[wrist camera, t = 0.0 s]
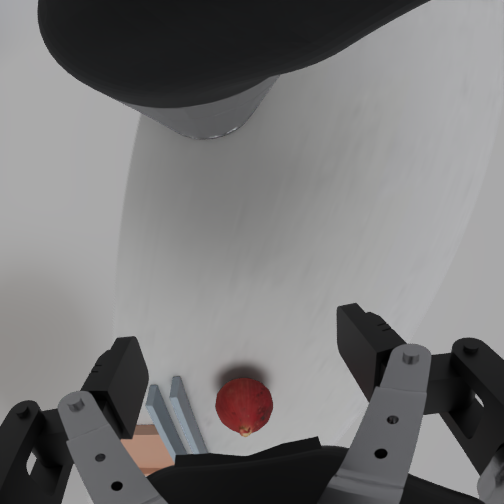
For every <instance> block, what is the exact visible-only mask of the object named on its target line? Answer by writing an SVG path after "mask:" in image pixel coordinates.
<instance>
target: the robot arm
mask: <svg viewBox="0 0 504 504" xmlns="http://www.w3.org/2000/svg"><path fill="white" fill-rule="evenodd" d="M428 1H430V0H38V23H39V28H40V33H41V35H42V38H43V40H44V43H45V45H46V47H47V49H48V50H49V52H50V53H51V55H52V56H53V58H54V59H55V60H56V61H57V63H58V64H59V65H60V66H62V67H63V68H64V69H65V70H66V71H67V72H68V73H69V74H71V75H72V76H73V77H75V78H76V79H77V80H79V81H81V82H82V83H84V84H86V85H88V86H90V87H91V88H93V89H95V90H97V91H99V92H101V93H103V94H105V95H107V96H109V97H111V98H113V99H115V100H117V101H119V102H121V103H123V104H125V105H127V106H129V107H131V108H133V109H135V110H137V111H139V112H141V113H142V114H144V115H146V116H148V117H150V118H152V119H154V120H156V121H157V122H159V123H161V124H163V125H165V126H166V127H168V128H170V129H172V130H174V131H175V132H177V133H179V134H181V135H184V136H186V137H190V138H196V139H213V138H217V137H221V136H225V135H227V134H229V133H231V132H233V131H235V130H236V129H237V128H239V127H240V126H242V125H243V124H244V123H245V122H246V121H247V119H248V118H249V117H250V116H251V115H252V113H253V112H254V111H255V109H256V108H257V106H258V105H259V104H260V102H261V101H262V99H263V98H264V96H265V95H266V94H267V92H268V91H269V89H270V88H271V87H272V85H273V84H274V83H275V81H276V80H277V78H278V77H279V76H280V74H284V73H288V72H292V71H295V70H299V69H302V68H305V67H308V66H310V65H313V64H316V63H318V62H320V61H323V60H325V59H327V58H329V57H331V56H333V55H335V54H337V53H338V52H340V51H342V50H343V49H345V48H347V47H348V46H350V45H352V44H353V43H355V42H356V41H358V40H360V39H361V38H363V37H364V36H366V35H368V34H369V33H371V32H373V31H375V30H376V29H378V28H380V27H381V26H383V25H385V24H387V23H388V22H390V21H392V20H394V19H396V18H398V17H399V16H401V15H403V14H405V13H407V12H409V11H411V10H412V9H414V8H416V7H418V6H420V5H422V4H424V3H426V2H428ZM337 345H338V350H339V353H340V355H341V357H342V358H343V360H344V362H345V363H346V365H347V367H348V368H349V370H350V372H351V373H352V375H353V377H354V378H355V380H356V382H357V383H358V385H359V387H360V388H361V390H362V392H363V393H364V395H365V397H366V398H367V400H368V402H369V405H368V408H367V410H366V413H365V415H364V417H363V419H362V422H361V424H360V426H359V429H358V431H357V433H356V436H355V437H354V440H353V442H352V444H351V446H350V448H344V447H339V446H321V444H320V441H319V438H318V436H317V437H313V438H308V439H304V440H299V441H294V442H288V443H283V444H280V445H278V446H275V447H272V448H270V449H267V450H264V451H261V452H258V453H255V454H252V455H249V456H234V455H223V454H213V453H204V454H187V455H175V464H174V465H172V466H168V467H165V468H162V469H160V470H158V471H156V472H154V473H152V474H150V475H148V476H147V477H145V475H144V474H143V473H142V471H141V470H140V468H139V467H138V466H137V464H136V463H135V462H134V460H133V459H132V457H131V456H130V454H129V453H128V452H127V450H126V449H125V447H124V446H123V444H122V443H121V441H120V440H121V439H133V435H134V431H135V427H136V424H137V420H138V417H139V413H140V410H141V406H142V403H143V399H144V396H145V392H146V389H147V385H148V381H149V375H148V369H147V366H146V363H145V360H144V358H143V355H142V352H141V349H140V346H139V343H138V340H137V338H136V337H135V336H132V337H120V338H117V339H116V340H115V342H114V344H113V346H112V347H111V349H110V350H107V351H106V352H105V353H104V354H102V355H101V356H100V357H99V358H98V360H97V362H96V363H95V367H93V369H92V370H91V373H90V374H89V376H88V378H87V379H86V381H85V383H84V385H83V387H82V388H81V390H80V391H76V392H72V393H70V394H68V395H66V396H65V397H63V398H62V399H61V401H60V402H59V404H58V408H57V409H52V410H47V411H41V409H40V407H39V406H38V404H37V403H36V402H35V401H30V400H28V401H23V402H20V403H18V404H16V405H15V406H14V407H13V408H12V409H11V410H10V411H9V413H8V415H7V416H6V418H5V420H4V421H3V423H2V424H1V426H0V504H61V503H62V499H63V495H64V492H65V489H66V485H67V482H68V479H69V475H70V472H71V469H72V466H73V464H75V465H76V467H77V470H78V472H79V474H80V476H81V478H82V481H83V483H84V485H85V487H86V489H87V491H88V493H89V495H90V497H91V499H92V501H93V503H94V504H504V360H503V359H502V358H501V357H500V356H499V355H498V354H496V353H495V352H494V351H493V350H492V349H491V348H490V347H489V346H488V345H486V344H485V343H484V342H483V341H481V340H479V339H475V338H462V339H459V340H457V341H456V342H455V343H454V344H453V346H452V351H451V353H446V354H438V355H431V353H430V351H429V350H428V349H427V348H426V347H424V346H421V345H418V344H407V343H406V342H405V341H404V340H403V339H402V338H401V337H400V336H399V335H398V334H397V333H396V332H395V331H394V330H393V329H391V327H390V326H389V325H388V324H386V322H385V321H384V320H383V319H382V318H381V317H380V316H378V315H376V314H374V313H372V312H367V313H365V312H364V311H363V310H362V308H361V307H360V306H359V305H358V304H357V303H352V304H348V305H343V306H338V307H337ZM475 394H477V395H478V397H479V398H480V399H481V400H482V402H483V405H484V407H483V406H482V405H481V404H480V403H479V402H478V401H477V399H476V398H475ZM435 413H439V414H440V416H441V417H442V419H443V420H444V422H445V423H446V424H447V426H448V427H449V429H450V430H451V432H452V433H453V435H454V436H455V438H456V439H457V441H458V442H459V444H460V445H461V447H462V448H463V450H464V452H465V453H466V455H467V456H468V458H469V459H470V461H471V462H472V464H473V466H474V467H475V469H476V470H477V472H478V473H479V475H480V478H479V480H478V483H477V491H478V494H479V499H477V498H475V497H472V496H470V495H466V494H464V493H460V492H457V491H454V490H451V489H448V488H445V487H443V486H440V485H437V484H434V483H432V482H429V481H426V480H424V479H421V478H418V477H416V476H413V475H411V474H409V473H408V472H409V469H410V465H411V462H412V458H413V455H414V451H415V447H416V443H417V439H418V435H419V430H420V426H421V422H422V417H423V415H427V414H435ZM31 451H32V453H33V454H34V455H35V456H36V458H37V459H36V462H35V464H34V467H33V469H32V471H31V474H30V475H29V474H28V472H27V468H26V464H27V460H28V458H29V456H30V453H31Z"/></svg>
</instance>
